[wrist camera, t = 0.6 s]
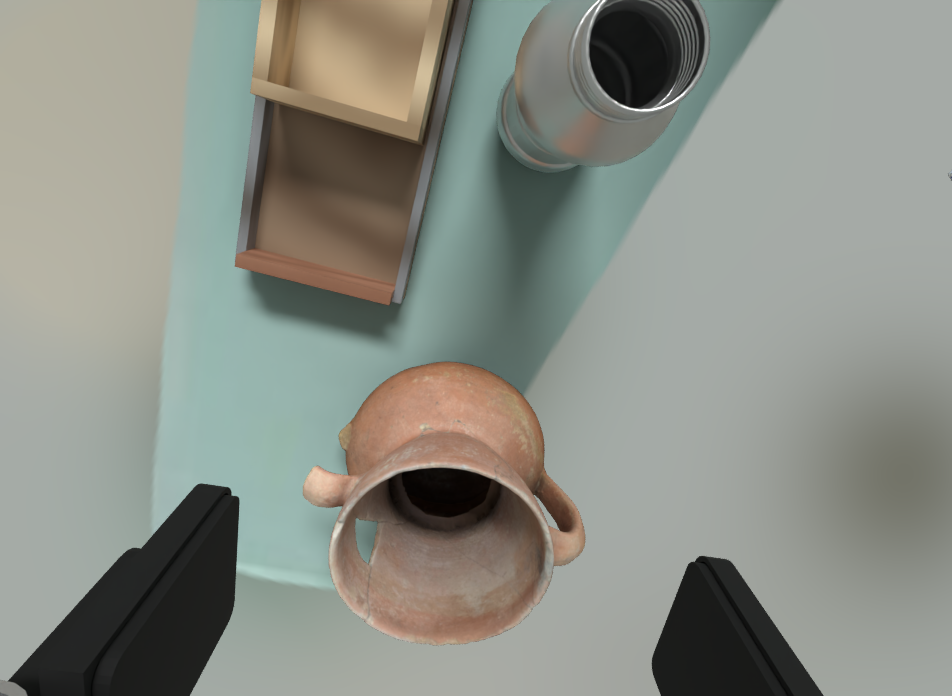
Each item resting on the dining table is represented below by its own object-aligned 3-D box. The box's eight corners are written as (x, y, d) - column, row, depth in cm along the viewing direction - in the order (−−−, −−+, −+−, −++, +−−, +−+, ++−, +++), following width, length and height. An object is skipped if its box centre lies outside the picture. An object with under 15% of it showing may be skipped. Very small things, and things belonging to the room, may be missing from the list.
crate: (311, -138, 29) (284, -193, 24) (474, -83, 30) (475, -127, 25) (278, 104, 32) (250, 93, 28) (423, 145, 33) (417, 141, 29)
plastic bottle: (567, 189, 35) (688, 204, 16) (476, 145, 34) (493, 104, 15) (613, 95, 33) (811, -14, 14) (519, 45, 32) (599, -143, 13)
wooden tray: (303, -159, 29) (280, -207, 25) (494, -94, 30) (499, -131, 26) (248, 256, 36) (223, 265, 32) (404, 296, 37) (398, 309, 34)
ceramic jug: (318, 479, 42) (253, 626, 28) (369, 317, 38) (322, 400, 24) (522, 537, 45) (552, 697, 31) (593, 393, 40) (662, 506, 27)
